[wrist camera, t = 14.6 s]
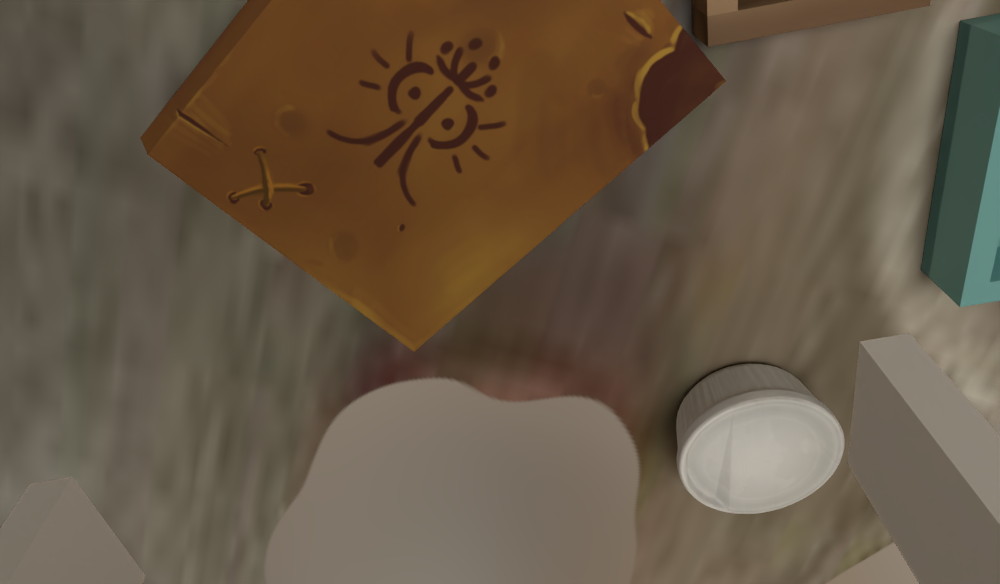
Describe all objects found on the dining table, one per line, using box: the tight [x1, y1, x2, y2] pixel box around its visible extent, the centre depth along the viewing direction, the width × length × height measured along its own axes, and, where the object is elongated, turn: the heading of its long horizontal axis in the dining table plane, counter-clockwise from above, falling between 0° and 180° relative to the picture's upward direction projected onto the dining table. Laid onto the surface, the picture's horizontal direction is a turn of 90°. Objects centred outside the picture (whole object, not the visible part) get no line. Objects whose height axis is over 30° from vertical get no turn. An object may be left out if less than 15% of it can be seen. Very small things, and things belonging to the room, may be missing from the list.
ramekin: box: [676, 364, 844, 514], centre depth 52 cm, size 11×11×5 cm
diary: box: [141, 0, 726, 351], centre depth 38 cm, size 23×19×6 cm
